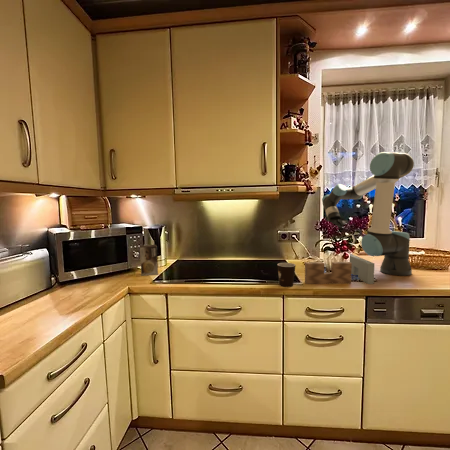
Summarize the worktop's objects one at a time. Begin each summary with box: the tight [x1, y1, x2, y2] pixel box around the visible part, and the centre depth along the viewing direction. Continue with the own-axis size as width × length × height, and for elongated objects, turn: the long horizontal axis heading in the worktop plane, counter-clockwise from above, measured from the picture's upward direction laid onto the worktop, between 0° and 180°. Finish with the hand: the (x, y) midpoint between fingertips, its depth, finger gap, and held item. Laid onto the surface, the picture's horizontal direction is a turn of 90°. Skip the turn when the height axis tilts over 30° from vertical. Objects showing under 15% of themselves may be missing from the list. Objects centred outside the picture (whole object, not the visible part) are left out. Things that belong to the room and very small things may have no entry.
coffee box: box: [139, 244, 159, 277], centre depth 162 cm, size 9×6×16 cm
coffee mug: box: [277, 262, 296, 288], centre depth 141 cm, size 12×9×10 cm
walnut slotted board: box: [304, 261, 352, 285], centre depth 143 cm, size 22×3×10 cm, turn 92°
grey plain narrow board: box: [349, 253, 375, 285], centre depth 152 cm, size 24×3×10 cm, turn 2°
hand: (342, 242), depth 171 cm, fingers open, 13 cm apart
